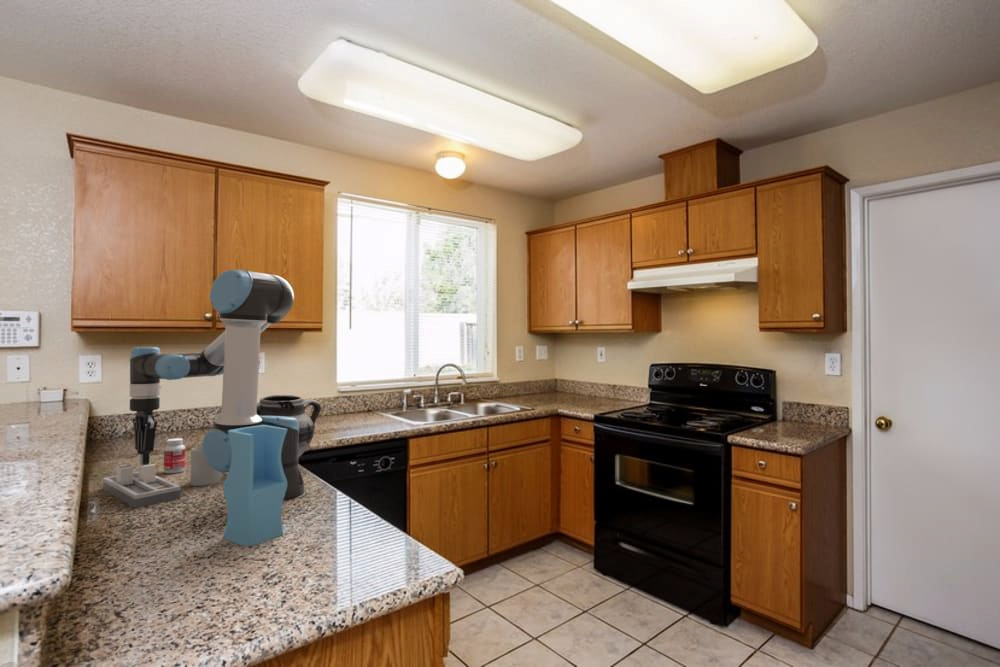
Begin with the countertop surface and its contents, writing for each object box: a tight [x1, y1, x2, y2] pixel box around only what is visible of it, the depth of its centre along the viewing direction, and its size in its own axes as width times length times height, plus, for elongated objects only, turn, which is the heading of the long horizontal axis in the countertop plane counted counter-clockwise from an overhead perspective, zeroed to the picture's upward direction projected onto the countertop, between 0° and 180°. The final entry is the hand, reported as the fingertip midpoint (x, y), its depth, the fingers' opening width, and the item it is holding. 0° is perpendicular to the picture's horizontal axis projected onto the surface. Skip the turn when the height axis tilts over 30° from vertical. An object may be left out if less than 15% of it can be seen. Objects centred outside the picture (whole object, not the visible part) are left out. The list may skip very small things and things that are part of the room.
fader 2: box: [139, 462, 157, 483], centre depth 154 cm, size 4×3×5 cm
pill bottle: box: [163, 437, 186, 475], centre depth 174 cm, size 6×6×11 cm
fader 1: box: [115, 464, 134, 486], centre depth 151 cm, size 4×3×5 cm
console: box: [102, 471, 181, 509], centre depth 150 cm, size 27×11×3 cm, turn 53°
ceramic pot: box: [256, 394, 322, 458], centre depth 184 cm, size 29×23×25 cm
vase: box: [222, 425, 287, 547], centre depth 120 cm, size 10×10×25 cm
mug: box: [189, 445, 222, 487], centre depth 164 cm, size 12×8×11 cm
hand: (143, 474), depth 155 cm, fingers closed
